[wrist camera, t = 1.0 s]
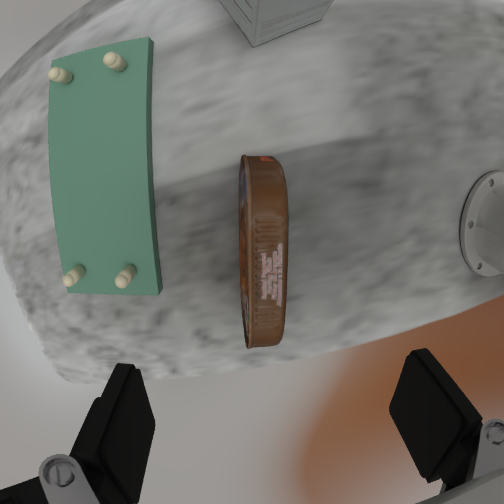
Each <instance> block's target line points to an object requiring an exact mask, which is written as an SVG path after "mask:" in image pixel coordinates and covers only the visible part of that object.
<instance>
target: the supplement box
mask: <svg viewBox="0 0 504 504" xmlns="http://www.w3.org/2000/svg"><path fill="white" fill-rule="evenodd" d="M219 1H220V2H221V3H222V5H223V6H224V7H225V8H226V10H227V11H228V12H229V14H230V15H231V16H232V18H233V19H234V21H235V22H236V23H237V25H238V26H239V27H240V29H241V30H242V32H243V33H244V35H245V36H246V37H247V39H248V40H249V42H250V43H251V45H252V46H253V47H256V46H258V45H260V44H263V43H265V42H267V41H270V40H272V39H274V38H276V37H279V36H281V35H283V34H286V33H288V32H291V31H293V30H296V29H298V28H301V27H303V26H306V25H308V24H311V23H314V22H317V21H319V20H322V18H323V16H324V15H325V13H326V12H327V10H328V9H329V7H330V5H331V4H332V2H333V1H334V0H219Z"/></svg>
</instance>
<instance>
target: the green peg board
mask: <svg viewBox="0 0 504 504" xmlns="http://www.w3.org/2000/svg"><path fill="white" fill-rule="evenodd" d="M152 61H153V41H152V40H151V39H150V38H149V37H145V38H139V39H134V40H128V41H123V42H119V43H114V44H109V45H105V46H101V47H97V48H93V49H89V50H85V51H82V52H78V53H75V54H71V55H68V56H65V57H62V58H59V59H56V60H53V61H52V65H51V69H50V71H49V73H48V77H49V79H50V90H49V113H48V144H49V169H50V183H51V194H52V204H53V213H54V220H55V228H56V234H57V241H58V247H59V252H60V258H61V263H62V268H63V273H64V277H63V283H64V285H65V286H66V287H67V291H68V293H88V294H121V295H159V294H160V292H161V290H162V281H161V272H160V263H159V254H158V244H157V233H156V221H155V207H154V192H153V172H152V140H151V91H152Z"/></svg>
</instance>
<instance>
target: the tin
mask: <svg viewBox="0 0 504 504" xmlns="http://www.w3.org/2000/svg"><path fill="white" fill-rule="evenodd" d="M288 220H289V218H288V197H287V187H286V181H285V176H284V172H283V169H282V166H281V164H280V163H279V162H278V161H277V160H276V159H275V158H274V157H271V156H246V155H242V157H241V164H240V172H239V240H240V287H241V306H242V317H243V327H244V336H245V343H246V347H247V349H250V348H253V347H266V346H274V345H277V344H279V343H280V341H281V340H282V337H283V332H284V325H285V310H286V294H287V267H288Z"/></svg>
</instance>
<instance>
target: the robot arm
mask: <svg viewBox="0 0 504 504" xmlns="http://www.w3.org/2000/svg"><path fill="white" fill-rule="evenodd" d="M460 239H461V248H462V252H463V256H464V258H465V260H466V263H467V264H468V265H469V267H470V268H471V269H472V270H473V271H475V272H476V273H478V274H479V275H481V276H485V277H494V276H496V275H499V274H501V273H503V274H504V171H492V172H490V173H487V174H486V175H484V176H483V177H482V178H480V180H479V181H478V182H477V183H476V184H475V185H474V187H473V189H472V191H471V192H470V194H469V196H468V199H467V201H466V204H465V207H464V211H463V214H462V221H461V231H460ZM389 412H390V415H391V417H392V419H393V420H394V423H395V425H396V427H397V428H398V430H399V432H400V434H401V436H402V438H403V440H404V442H405V444H406V446H407V448H408V450H409V452H410V455H411V457H412V458H413V461H414V463H415V465H416V467H417V469H418V471H419V473H420V475H421V476H422V477H423V478H426V480H427V482H428V483H431V482H433V481H436V480H438V479H440V478H441V479H442V481H443V484H442V487H441V490H440V493H439V495H437V496H434V497H432V498H429V499H427V500H424V501H421V502H419V503H416V504H504V421H503V420H500V419H490V420H488V421H486V422H485V423H484V424H482V422H481V420H482V419H483V418H482V417H481V415H480V414H479V413H478V411H477V410H476V409H475V407H474V406H473V405H472V403H471V402H470V401H469V399H468V398H467V397H466V396H465V394H464V393H463V392H462V391H461V389H460V388H459V387H458V385H457V384H456V383H455V382H454V380H453V379H452V378H451V377H450V375H449V374H448V373H447V372H446V371H445V369H444V368H443V367H442V366H441V364H440V363H439V362H438V361H437V360H436V358H435V357H434V356H433V355H432V354H431V352H430V351H429V350H428V349H426V348H423V349H418V350H413V351H411V353H410V354H409V355H408V356H407V357H406V360H405V363H404V366H403V369H402V372H401V375H400V378H399V381H398V384H397V387H396V390H395V393H394V395H393V398H392V400H391V403H390V406H389ZM154 431H155V419H154V416H153V413H152V410H151V406H150V403H149V400H148V396H147V393H146V389H145V386H144V382H143V378H142V375H141V371H140V369H136V368H135V366H134V365H133V364H123V363H118V364H116V366H115V368H114V370H113V372H112V374H111V376H110V378H109V380H108V383H107V385H106V387H105V389H104V391H103V393H102V395H101V397H97V398H96V399H95V400H94V402H93V404H92V406H91V408H90V410H89V412H88V414H87V416H86V419H85V421H84V423H83V425H82V428H81V430H80V432H79V434H78V436H77V438H76V441H75V443H74V446H73V448H72V450H71V453H70V455H69V456H67V455H64V454H57V455H52V456H50V457H48V458H47V459H45V460H44V461H43V462H42V464H41V466H40V468H39V476H38V477H35V478H33V479H30V480H28V481H25V482H22V483H19V484H16V485H14V486H10V487H8V488H5V489H2V490H0V504H137V503H138V502H139V498H140V494H141V489H142V484H143V479H144V475H145V470H146V466H147V461H148V456H149V452H150V448H151V443H152V439H153V435H154Z"/></svg>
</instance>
